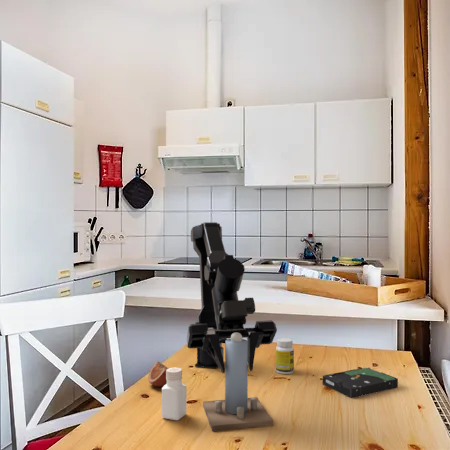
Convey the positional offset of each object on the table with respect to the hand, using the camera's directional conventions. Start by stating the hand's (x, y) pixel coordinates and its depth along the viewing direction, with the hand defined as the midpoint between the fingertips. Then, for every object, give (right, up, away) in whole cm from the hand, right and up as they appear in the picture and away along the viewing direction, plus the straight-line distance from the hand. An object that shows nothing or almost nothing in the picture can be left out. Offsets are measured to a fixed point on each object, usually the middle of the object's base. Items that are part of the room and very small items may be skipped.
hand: (237, 371), depth 92 cm
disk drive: (+30, -10, +18) cm, 36 cm away
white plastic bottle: (-13, -10, +1) cm, 16 cm away
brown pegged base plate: (0, -9, +1) cm, 10 cm away
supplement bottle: (+13, -9, +29) cm, 33 cm away
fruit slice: (-18, -10, +19) cm, 28 cm away
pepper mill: (0, -8, +1) cm, 9 cm away
